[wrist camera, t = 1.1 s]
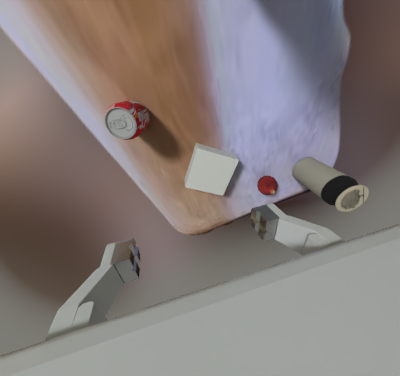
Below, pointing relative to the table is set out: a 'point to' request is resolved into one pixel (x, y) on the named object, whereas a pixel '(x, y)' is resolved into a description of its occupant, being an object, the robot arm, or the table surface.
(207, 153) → the grey block
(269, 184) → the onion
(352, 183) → the travel mug
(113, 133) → the soda can
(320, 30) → the table surface
